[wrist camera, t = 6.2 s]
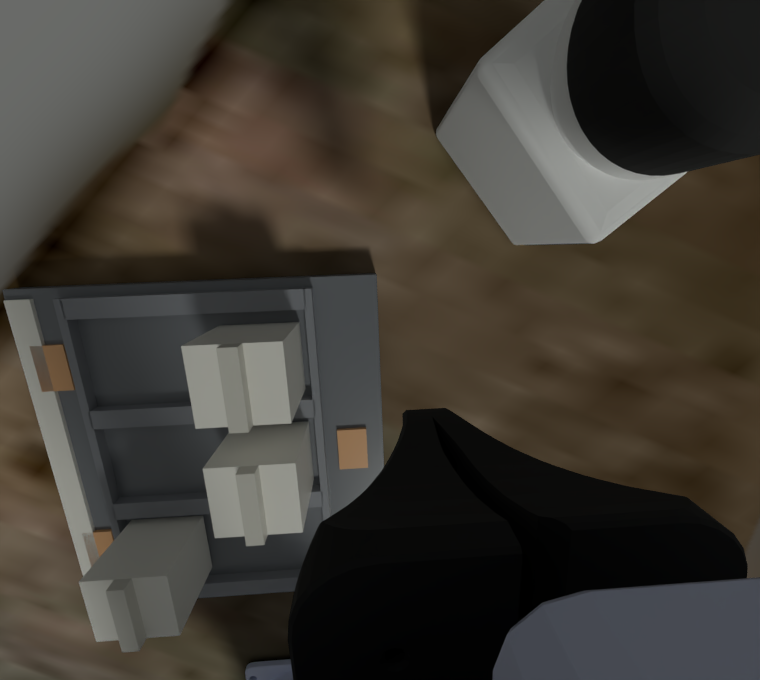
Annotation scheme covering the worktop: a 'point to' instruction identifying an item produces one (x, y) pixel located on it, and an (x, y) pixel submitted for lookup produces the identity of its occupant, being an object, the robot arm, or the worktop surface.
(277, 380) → the grey ridged block
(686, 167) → the medicine bottle
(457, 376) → the worktop surface
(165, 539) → the grey ridged block
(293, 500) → the grey ridged block
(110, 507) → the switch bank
